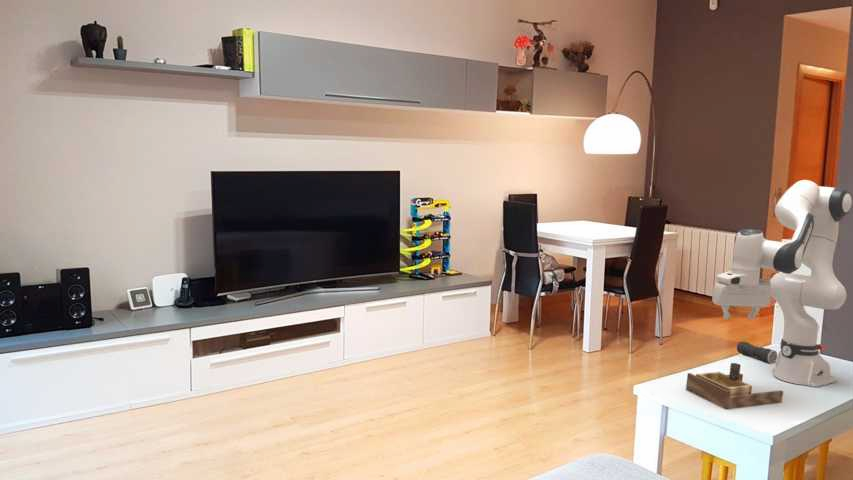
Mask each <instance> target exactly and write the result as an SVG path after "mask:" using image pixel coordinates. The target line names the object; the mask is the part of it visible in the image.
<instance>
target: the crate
mask: <svg viewBox="0 0 853 480" xmlns="http://www.w3.org/2000/svg"><path fill="white" fill-rule="evenodd" d="M729 367H730V368H729V374H726V373H723V372H720V371H714V372H713V371H711V372H705V373H704V372H702V373H696V374H695V376H698V377H700V378H702V379H704V380H706V381H708V382H711V383H713V384H715V385H717V386H719V387H721V388H724V389H726V390H728V391H730V396H735V395H744V394H752V389H753V385H751V384H748V383H746V382H744V381H742V382H741V381H739V374H741V364H739V363H735V362H731V363H730V365H729ZM728 375H729V376H728Z"/></svg>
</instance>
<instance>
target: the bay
mask: <svg viewBox="0 0 853 480" xmlns="http://www.w3.org/2000/svg"><path fill="white" fill-rule="evenodd" d="M727 375H728V376H729V375H730V374H727ZM743 377H744V374H742V373H740V374H739V381H741V382H743V379H744V378H743ZM685 390H686V391H688V392H689V393H692V394H694V395H695V396H698V397H700V398H702V399H704V400H706V401H708V402H709V403H712V404H714V405H716V406H718V407H721V408H722V409H725V410H731V409H732V410H733V409H738V408H739V409H741V408H748V407H756V406H765V405H772V404H773V405H774V404H780V403H782V402H783V397H784V396H783V395H784V391H783V390H773V391H772V390H771V391H764V392H755V393H751V394H744V395H735V396H730V391H728V390H726V389H724V388H721V387H719V386H717V385H715V384H713V383H711V382H708V381H706V380H704V379H702V378H700V377H698V376H696V374H694V373H690V372H687V377H686V385H685Z"/></svg>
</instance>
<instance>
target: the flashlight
mask: <svg viewBox="0 0 853 480" xmlns="http://www.w3.org/2000/svg"><path fill="white" fill-rule="evenodd" d="M736 351H737V352H738V353H739V354H741V355H746V356H749V357H755V358H756V359H758V360H761V361H763V362H764V363H768V364H771V363H772V364H776V363H775V362H777V358H778V351H776V350H774V349H771V348H765V347H762V346H760V347H759V346H756V345H754V344H750V343H749V342H747V341H739V342H738V343H737V346H736Z"/></svg>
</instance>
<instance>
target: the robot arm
mask: <svg viewBox="0 0 853 480" xmlns="http://www.w3.org/2000/svg"><path fill="white" fill-rule="evenodd" d="M852 204H853V197H852V194H851V192H850V191H849V190H848V189H846V188H842V187H831V186H821V185H820V186H819V185H818V184H817V183H816V182H814V181H812V180H808V179H801V180H799V181H796V182H795V183H794V184H793V185H791V186H790V187H789V188H788V189H787V190H786V191H785V192H784V193H783V195H781V197H780V198H779V199H778V201H777V203H776V205H775V208H774V215H775V217H776V220H777V221H778V222H779V223H780V224H781V225H782V226H784V227H785V228H787V229H789V230H792V231H794V233H793V235H792V237H791V240H790V241H777V240H770V239H766V238H765V237H764V233H763V232H764V231H762V230H759V229H756V228H754V229H753V228H746V229H741V230H739V231H738V233H737V234H736V238H735V241H734V246H733V252H732V257H733V261H732V264H731V267H730V270H728V271H725V272H722V273H719V274H717V275H716V278H715V280H716V281H717V282H716V283H715V284H714V287H713V291H712V297H711V301H712V303H713V304H714V305H716V306H719V307H721V311H722V312H723V318H724V320H731V317H732V314H731V313H729V309H730V307H751V309H752V310H751V311H750V312H749V313H748V315H747V319H748V320H755V319H756V315H757V314H758V312H759V311H760V307H767V308H768V307H769V305H771V298H773V300H775V301H776V303H777V304H778V305H779V307H780V309H781V312H782V314H783V321H784V322H783V334H782V338H781V341H780V351H779V352H778V353H777V360H776V361H775V362H776V363H775V366H774V367H773V368H772V372H773V376H774V377H775V378H776V379H778V380H780V381H784V382H788V383H791V384H796V385H801V386H802V385H803V386H809V387H814V388H818V387H822V386H825V385H829V384H832V383H836V382H837V381H838V380H837V378H836V377H834V376H833V375H831V364H829V363H828V362H827V360H825V359H824V358H823V356H821V355H820V351H824V350H825V345H823V344H820V343H819V344H817V343H818V333H819V328H820V327H819V323H818V321H817V320H816V319H815V318H814V317H813V316H811V315H810V314H808V313H807V311H806V308H805V306H806V307H811V308H815V309H820V310H838V309H840V308H841V307H842V306H843V305H844V304H845V302H846V300H847V291H846V288H845V286H844V285H843V284H842V283H841V282H840V281H839V279H838V278H837V277H836V275H835V273H834V268H833V259H834V255H835V254H834V253H835V250H836V245H837V243H838V237H839V229H840V228H839V227H840V225H839V224H840V223H839V222H840V221H841V220H842V219H843V218H844V217H846V216H847V215H848V214H849V212H850V210H851V209H852ZM802 264H803V265H804V266H805V267H807V268H808V269H810V270H811V271H810V275H804V274H799V273H794V272H797V270H799V269H800V268H801V266H802ZM761 269H766V270H771V271H775V272H777V273H776V274H774V275H772V277H771V278H770V279H769V280H768V279H767V278H760V277H761V276H760V275H761ZM778 272H779V273H778Z"/></svg>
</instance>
